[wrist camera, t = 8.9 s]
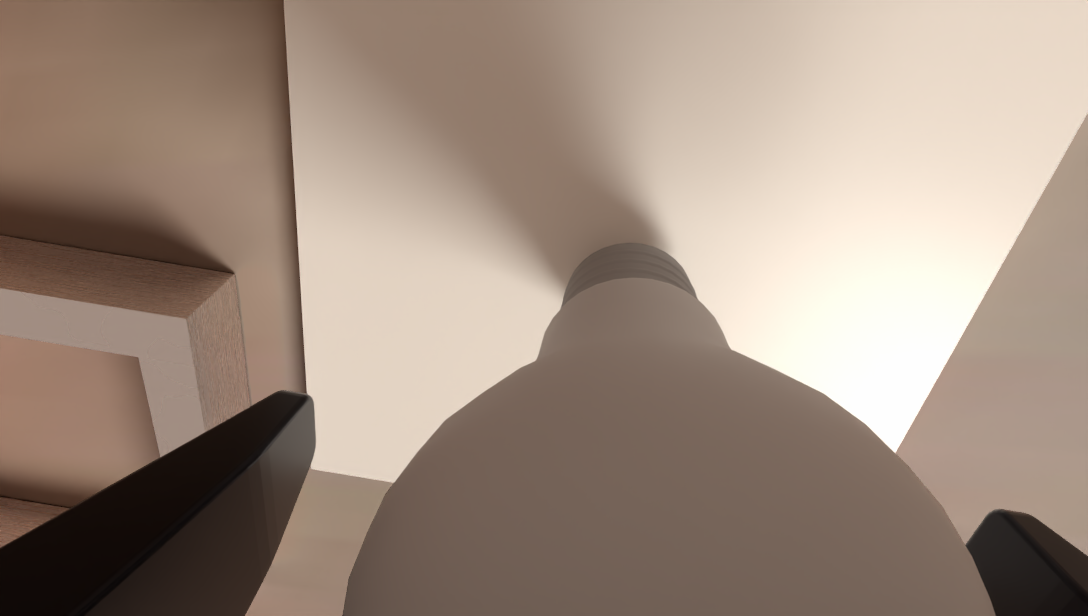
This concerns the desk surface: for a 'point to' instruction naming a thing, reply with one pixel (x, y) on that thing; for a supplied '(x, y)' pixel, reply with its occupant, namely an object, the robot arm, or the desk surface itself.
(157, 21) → the desk surface
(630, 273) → the lightbulb
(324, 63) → the mat
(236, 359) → the grey flat square frame
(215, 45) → the desk surface
